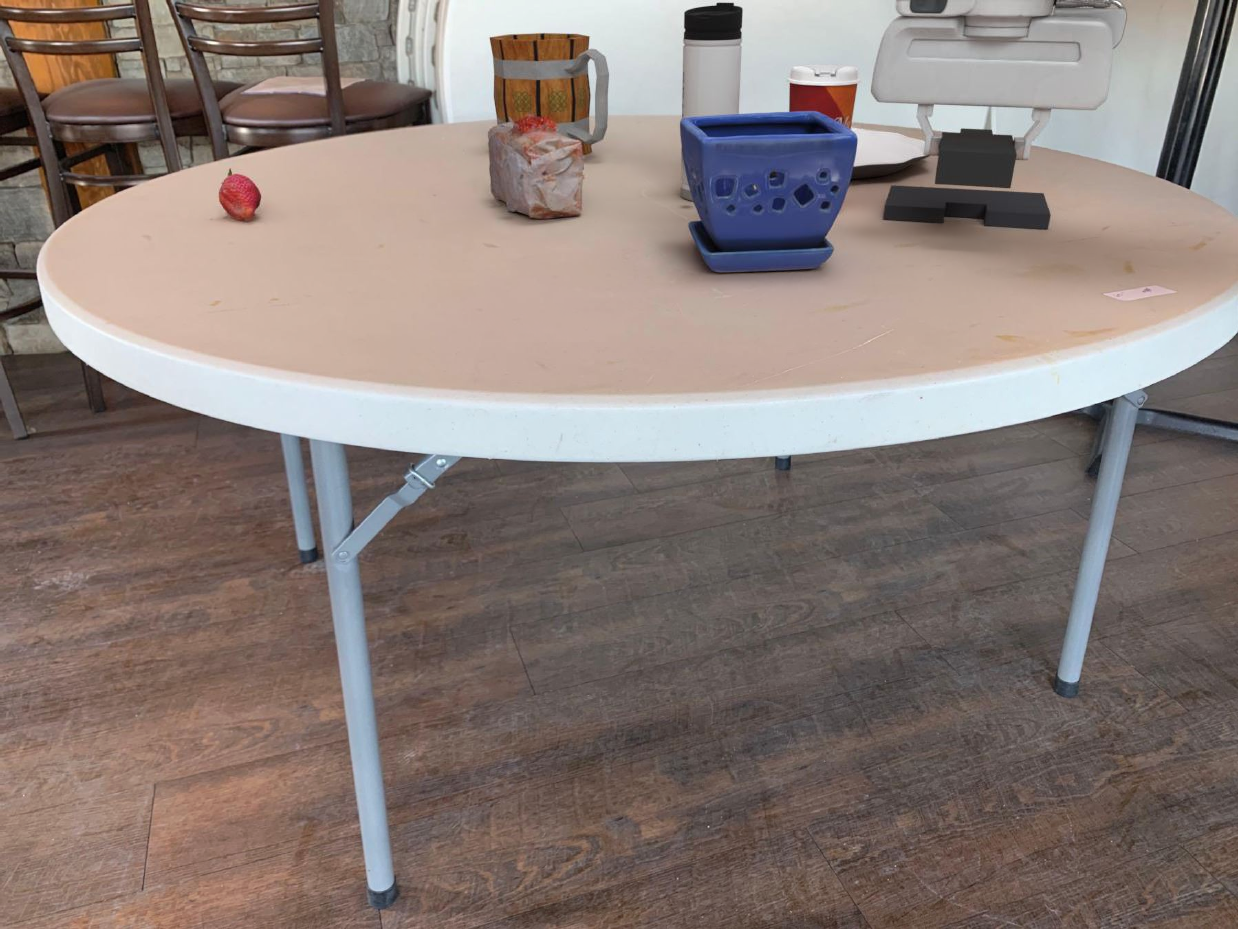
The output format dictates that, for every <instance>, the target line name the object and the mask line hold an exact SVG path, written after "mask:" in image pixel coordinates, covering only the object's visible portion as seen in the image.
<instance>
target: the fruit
mask: <svg viewBox="0 0 1238 929" xmlns="http://www.w3.org/2000/svg"><path fill="white" fill-rule="evenodd" d="M218 199H219V201H218V202H219V203H220V205H221V206H222V208H223V209H224V211H225V213H227V214H228V216H230V217H231V218H233V219H235V220H238V221H240V222H245V221H247V222H248V221H249V220H251V219H253V218H254V216H255V212H256V210H257V209H258V208H259V206H260V205H261V202H262V201H261V200H262V193H261V191H260V189H259V188H258V186H257V185H256V184H255V182H254V181H253V180H252V179H250V177H248V176H246V175H243V174H240V173H234V174H233V172H232V168H231V167H229V169H228V172H227V176H226V177H225V179H223V181H222V182H221V186H220V187H219V190H218Z"/></svg>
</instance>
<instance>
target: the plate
mask: <svg viewBox="0 0 1238 929" xmlns="http://www.w3.org/2000/svg"><path fill="white" fill-rule="evenodd" d="M851 130H852V131H853V132H854V133H855V134H856V135H857V138H858V143H857V151H856V157H855V162H854V166H853V171H852V175H851V179H850V180H858V179H867V178H875V177H882V176H888V175H891V174H895V173H897V172H899V171H902V170H904V169H906V168H907V167H908V166H910V165H913V164H915V163H918V162H920V161H922V160H924V159H927V158H929V157H931V155H924V147H925V140H922V139H918V138H913V137H910V136H907V135H904V134H901V133H897V132H893V131H883V130H871V129H864V128H858V127H851ZM775 176H776V173H775V171H773V172H771V174H770V178H774V177H775Z"/></svg>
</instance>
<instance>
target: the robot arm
mask: <svg viewBox="0 0 1238 929" xmlns="http://www.w3.org/2000/svg"><path fill="white" fill-rule="evenodd" d="M894 3H895V4H894V5H895V11H896V13H897V14H898V15H899V16H897V17H896V18H894V19H893V20H892V21H891V22H890V23H889V24H888V26H887V27H886V29H885V31H884V33H883V35H882V37H881V40H880V43H879V44H880V45H879V47H878V51H877V55H876V58H875V62H874V68H873V73H872V78H871V85H870V93H871V95H872V97H873V98H874V99H875V101H876V102H877V103H882V104H883V103H884V104H908V105H909V104H910V105H917V109H916V119H917V122H918V123H919V126H920V128H921V132H922V134H923V136H924V137H925V140H924V141H925V147H924V155H930V156H931V157H932V156H936V157H938V156H939V150H940V143H941V141H942V133H935V132H934V130H933V128H932V125H931V123H930V120H929V118H931V117H933V113H934V107H935V105H937V106H938V105H939V106H963V107H964V106H965V107H987V108H988V107H991V108H1015V109H1017V108H1018V109H1032V110H1031V119H1032V121H1033V122H1034V123H1032V125H1031V126H1030V128H1029V129H1028V130H1027V131H1026V133H1025V134H1024V136H1023V137H1021V136H1020V137H1018V136H1017V137H1013V143H1014V146H1015V149H1016V153H1017V156H1016V161H1029V158H1030V152H1031V148H1032V142H1034V141H1035V140H1036V138H1037V137H1038V136H1039V135H1040V134H1041V132H1043V130H1044V129H1045V127H1046V126H1047V125H1048V124H1049V122H1050V117H1051V114H1052V113H1051V112H1052V110H1072V111H1096V110H1098V108H1100V107H1101V106H1102V105H1103V104H1104V103H1105V102H1106V101H1107V99H1108V96H1109V91H1110V84H1111V78H1112V69H1113V58H1114V57H1113V53H1114V49H1115V48H1116V47H1118V45H1120V43H1121V41H1122V40H1123V37H1124V34H1125V29H1126V24H1127V22H1128V21H1127V20H1128V12H1127V11H1128V10H1127V9H1126V6H1125V5H1124V3H1122V2H1121V1H1120V0H895V2H894ZM1112 5H1114V6H1116V7H1111V6H1112Z"/></svg>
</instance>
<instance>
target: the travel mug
mask: <svg viewBox="0 0 1238 929" xmlns="http://www.w3.org/2000/svg"><path fill="white" fill-rule="evenodd" d="M683 13H684V14H683V29H684V31H683V40H682V43H683V44H684V45H683V46H682V88H681V89H682V91H681V92H682V96H681V119H683V118H689V117H701V116H714V115H730V114H740V97H741V96H740V95H741V72H742V71H741V70H742V69H741V68H742V51H743V50H742V48H743V46H742V45H741V44H742V43H743V37H742V35H743V34H742V33H743V32H742V28H743V13H744V10H743V7H742V6H739V5H735V2H716V3H715V4H714V5H704V6H699V7H698V6H697V7H692V8H689V9H687V10H685V11H684V12H683ZM680 154H681V156H680V181H681V182H680V196H681V197H682V198H683V199H684V200H686V201H691V202H694V201H693V198H692V195H691V192H690V188H689V185H688V181H687V177H686V171H685V166H684V161H683V154H682V146H681V153H680Z"/></svg>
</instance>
